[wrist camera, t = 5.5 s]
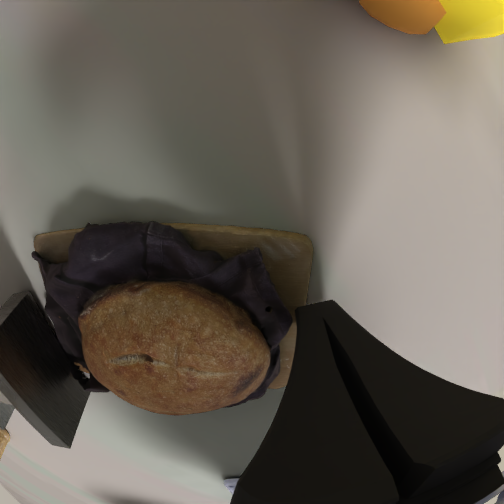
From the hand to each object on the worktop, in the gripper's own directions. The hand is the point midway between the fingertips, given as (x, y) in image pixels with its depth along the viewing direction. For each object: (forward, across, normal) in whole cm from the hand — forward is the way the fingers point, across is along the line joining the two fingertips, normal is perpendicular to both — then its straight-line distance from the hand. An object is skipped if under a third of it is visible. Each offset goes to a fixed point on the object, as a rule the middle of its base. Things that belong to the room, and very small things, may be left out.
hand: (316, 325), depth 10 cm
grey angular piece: (+1, +16, 0) cm, 16 cm away
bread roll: (+2, +6, 0) cm, 6 cm away
